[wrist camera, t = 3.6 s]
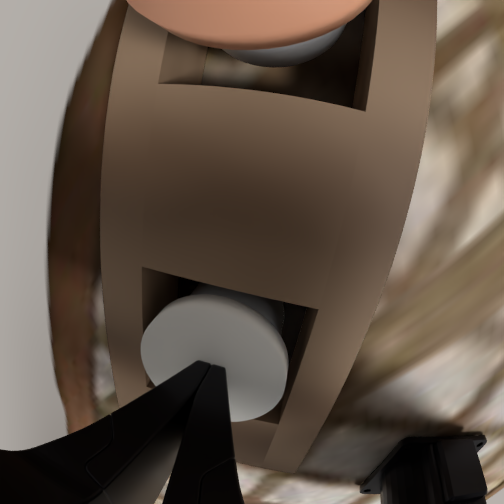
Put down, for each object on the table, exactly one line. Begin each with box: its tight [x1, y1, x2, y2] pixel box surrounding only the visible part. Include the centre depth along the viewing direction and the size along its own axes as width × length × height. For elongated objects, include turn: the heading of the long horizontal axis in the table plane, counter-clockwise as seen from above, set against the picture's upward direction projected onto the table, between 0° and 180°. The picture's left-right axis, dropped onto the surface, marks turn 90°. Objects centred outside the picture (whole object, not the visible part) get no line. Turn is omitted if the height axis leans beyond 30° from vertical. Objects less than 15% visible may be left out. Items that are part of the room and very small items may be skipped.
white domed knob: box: [141, 282, 289, 422], centre depth 10 cm, size 4×4×4 cm
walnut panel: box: [100, 0, 437, 474], centre depth 9 cm, size 22×8×3 cm, turn 171°
